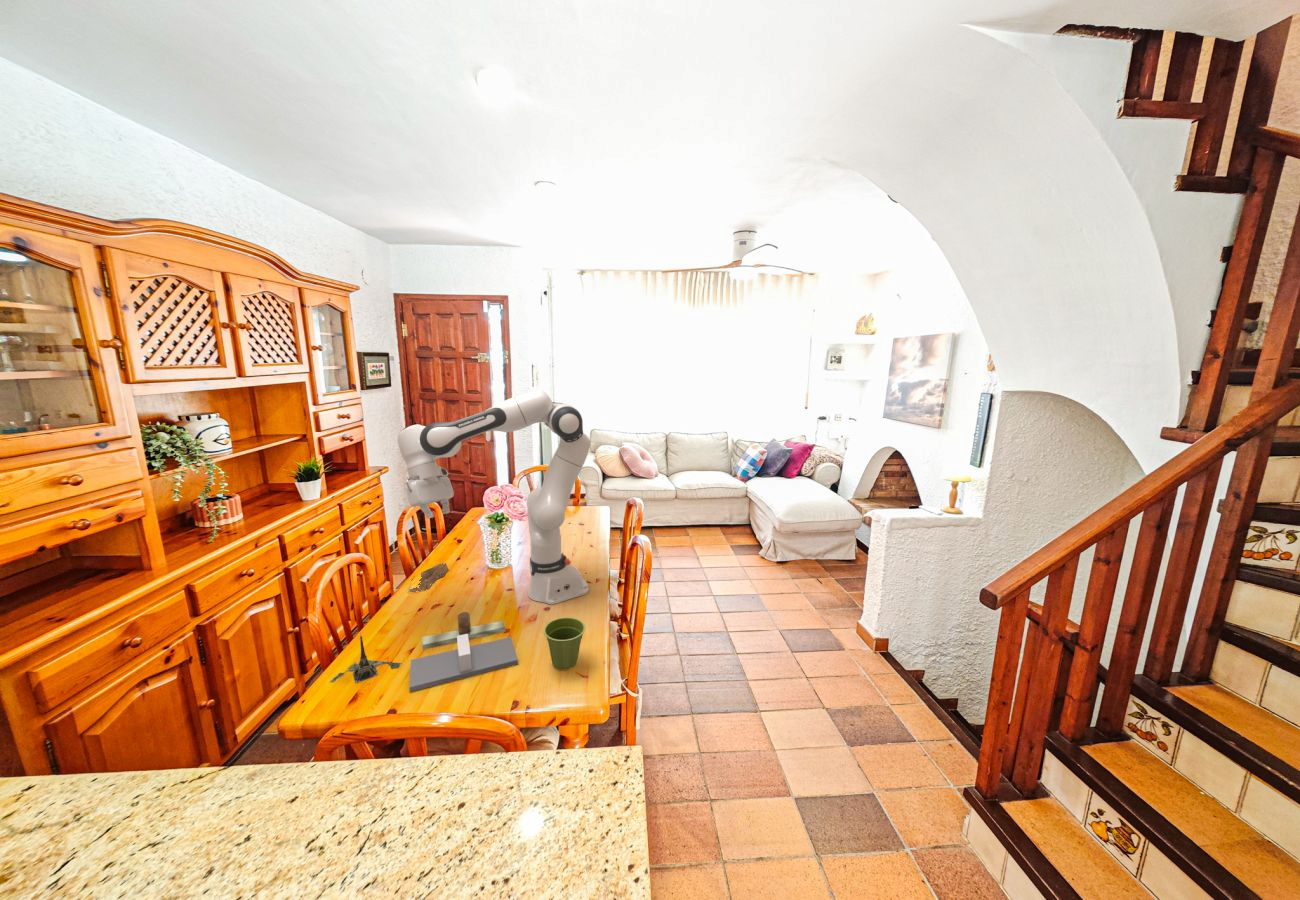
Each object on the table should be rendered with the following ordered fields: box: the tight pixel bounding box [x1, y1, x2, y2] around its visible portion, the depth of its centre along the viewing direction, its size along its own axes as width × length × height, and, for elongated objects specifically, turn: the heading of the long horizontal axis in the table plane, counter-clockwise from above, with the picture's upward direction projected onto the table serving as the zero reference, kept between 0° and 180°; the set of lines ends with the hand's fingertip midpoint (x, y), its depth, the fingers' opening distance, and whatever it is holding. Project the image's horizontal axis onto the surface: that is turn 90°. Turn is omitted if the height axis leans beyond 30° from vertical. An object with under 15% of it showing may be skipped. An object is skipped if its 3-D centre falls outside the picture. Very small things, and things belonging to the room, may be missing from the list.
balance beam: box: [421, 611, 506, 650], centre depth 145 cm, size 24×4×8 cm, turn 114°
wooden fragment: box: [407, 562, 450, 593], centre depth 183 cm, size 26×11×1 cm, turn 173°
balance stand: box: [408, 634, 519, 693], centre depth 132 cm, size 28×12×6 cm, turn 115°
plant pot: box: [543, 616, 586, 671], centre depth 134 cm, size 12×12×11 cm
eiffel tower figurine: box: [329, 632, 403, 684], centre depth 127 cm, size 15×10×13 cm
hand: (439, 515), depth 147 cm, fingers open, 8 cm apart
